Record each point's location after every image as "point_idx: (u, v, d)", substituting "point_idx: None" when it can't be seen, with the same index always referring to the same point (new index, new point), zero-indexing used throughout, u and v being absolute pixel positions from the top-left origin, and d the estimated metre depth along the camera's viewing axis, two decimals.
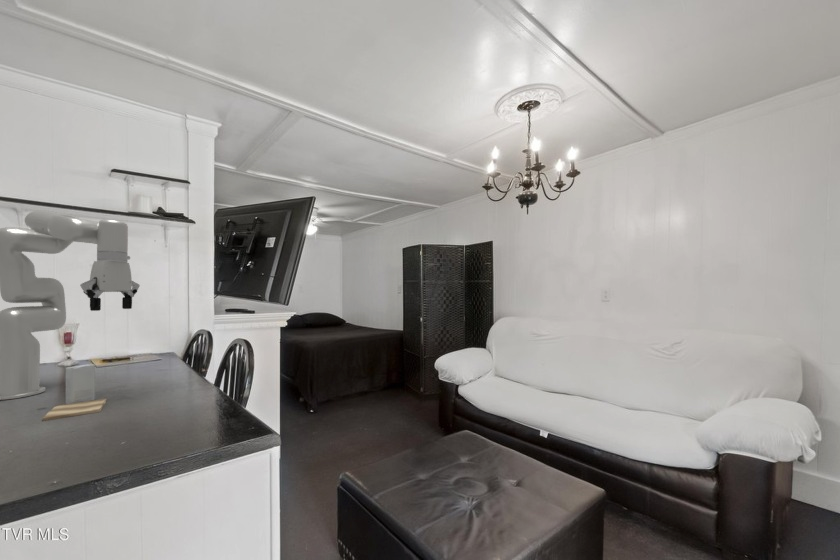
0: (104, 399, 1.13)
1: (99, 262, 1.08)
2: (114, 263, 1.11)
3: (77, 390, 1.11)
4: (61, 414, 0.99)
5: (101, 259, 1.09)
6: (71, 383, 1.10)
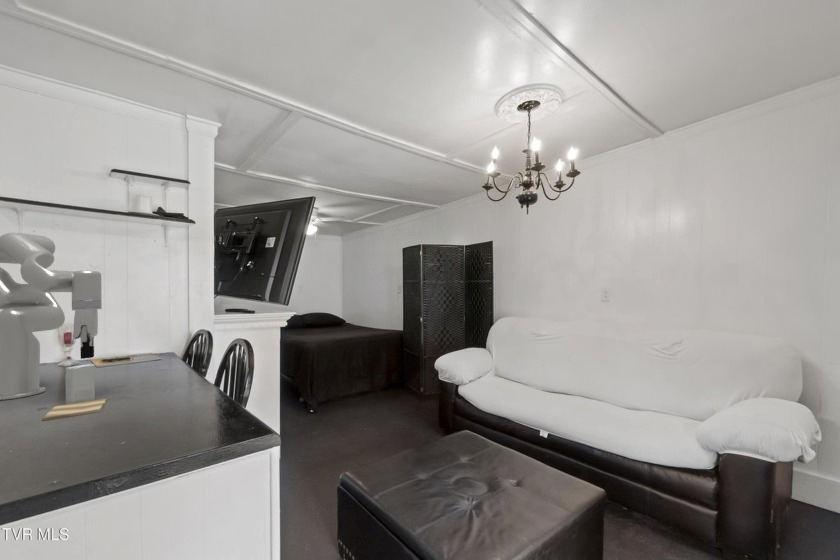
0: (104, 399, 1.13)
1: (86, 311, 1.17)
2: (96, 310, 1.20)
3: (77, 390, 1.11)
4: (61, 414, 0.99)
5: (86, 308, 1.17)
6: (71, 383, 1.10)
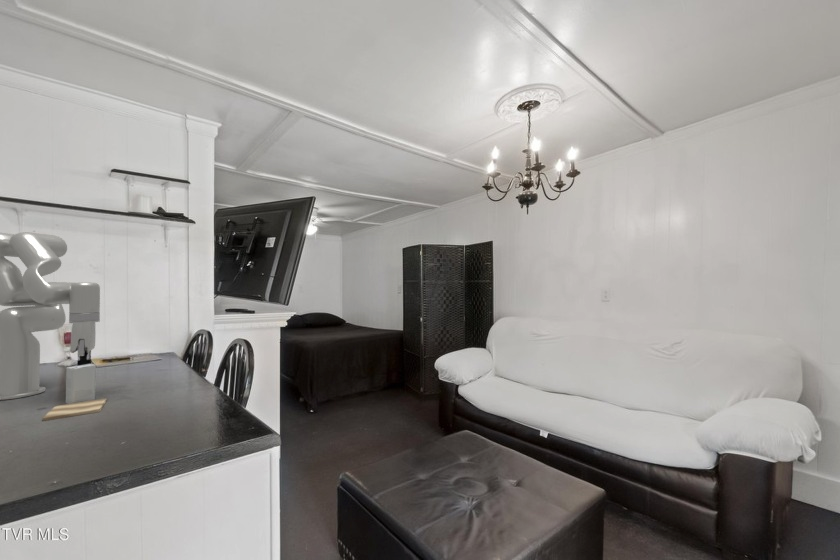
0: (104, 399, 1.13)
1: (84, 324, 1.14)
2: (93, 323, 1.18)
3: (77, 390, 1.10)
4: (61, 414, 0.99)
5: (84, 321, 1.15)
6: (71, 383, 1.10)
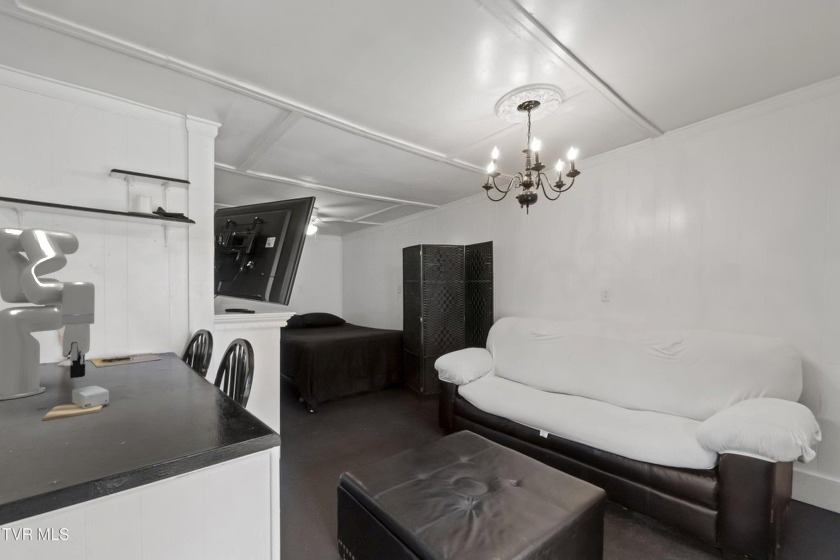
0: None
1: (77, 327, 1.07)
2: (88, 325, 1.10)
3: None
4: (61, 414, 0.99)
5: (78, 323, 1.07)
6: (79, 403, 1.06)
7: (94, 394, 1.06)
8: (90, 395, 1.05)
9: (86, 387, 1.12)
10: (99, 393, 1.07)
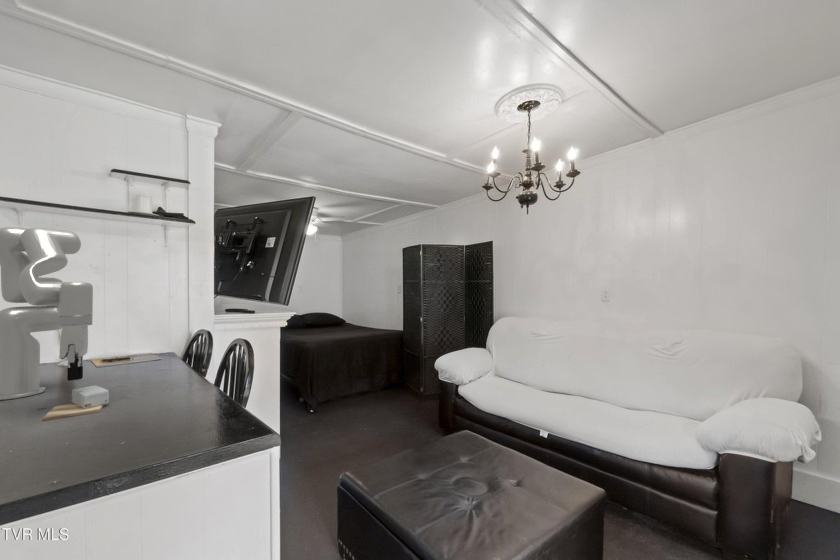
0: None
1: (75, 328, 1.04)
2: (85, 327, 1.08)
3: None
4: (61, 414, 0.99)
5: (75, 324, 1.05)
6: (79, 403, 1.06)
7: (94, 394, 1.06)
8: (90, 395, 1.05)
9: (86, 387, 1.12)
10: (99, 393, 1.07)
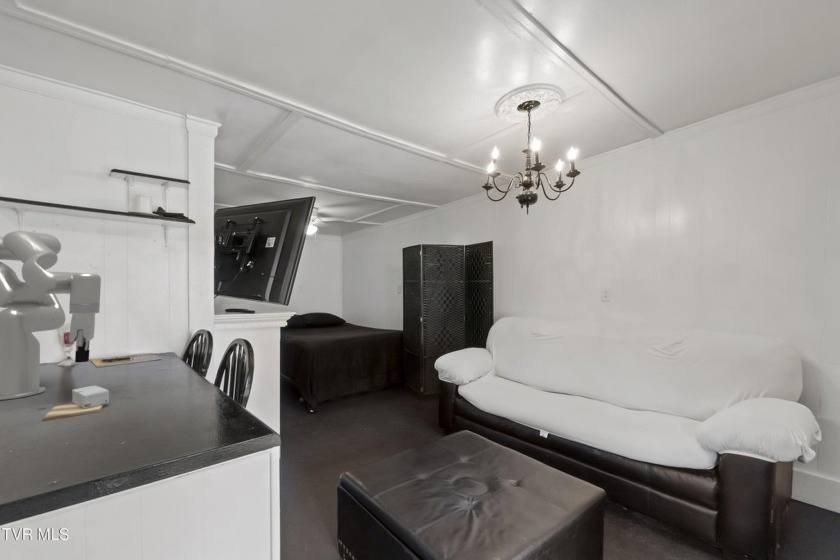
0: None
1: (84, 315, 1.15)
2: (93, 314, 1.19)
3: None
4: (61, 414, 0.99)
5: (84, 312, 1.15)
6: (79, 403, 1.06)
7: (94, 394, 1.06)
8: (90, 395, 1.05)
9: (86, 387, 1.12)
10: (99, 393, 1.07)
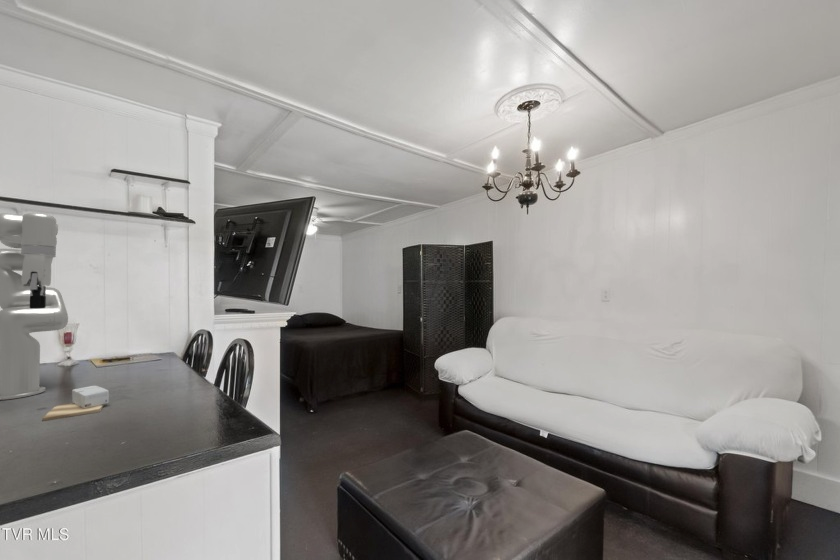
0: None
1: (38, 257, 1.08)
2: (48, 258, 1.11)
3: None
4: (61, 414, 0.99)
5: (38, 253, 1.08)
6: (79, 403, 1.06)
7: (94, 394, 1.06)
8: (90, 395, 1.05)
9: (86, 387, 1.12)
10: (99, 393, 1.07)
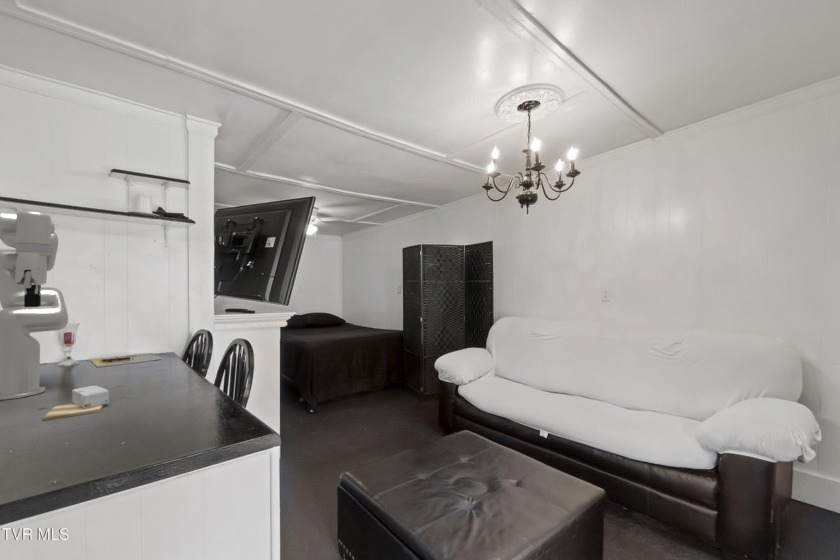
0: None
1: (31, 255, 1.07)
2: (43, 256, 1.10)
3: None
4: (61, 414, 0.99)
5: (32, 251, 1.07)
6: (79, 403, 1.06)
7: (94, 394, 1.06)
8: (90, 395, 1.05)
9: (86, 387, 1.12)
10: (99, 393, 1.07)
